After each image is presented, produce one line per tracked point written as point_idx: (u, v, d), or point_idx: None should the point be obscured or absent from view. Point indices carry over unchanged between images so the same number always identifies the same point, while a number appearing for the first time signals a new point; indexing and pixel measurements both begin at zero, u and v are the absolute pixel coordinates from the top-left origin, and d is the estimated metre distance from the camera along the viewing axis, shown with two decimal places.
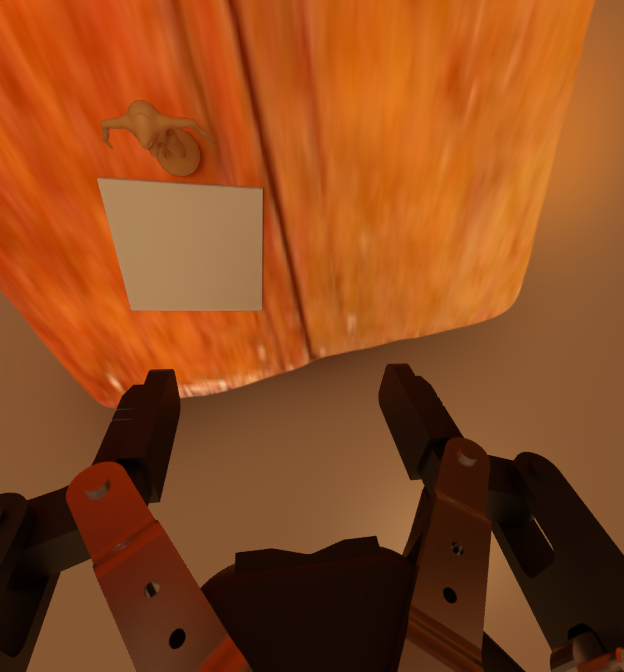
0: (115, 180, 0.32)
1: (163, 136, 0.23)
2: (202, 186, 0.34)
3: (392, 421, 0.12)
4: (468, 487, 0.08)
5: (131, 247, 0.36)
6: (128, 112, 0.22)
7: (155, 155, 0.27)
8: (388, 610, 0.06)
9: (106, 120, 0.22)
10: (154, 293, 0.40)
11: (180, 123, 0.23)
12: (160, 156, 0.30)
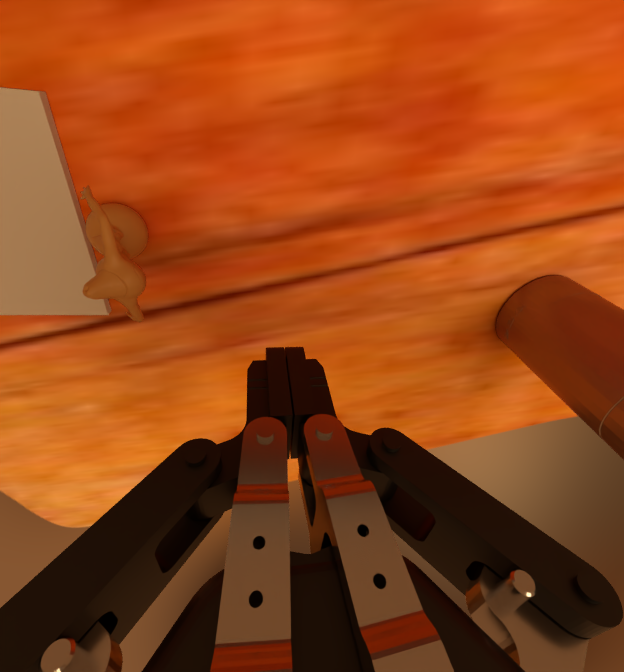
0: (47, 123, 0.21)
1: None
2: (85, 248, 0.26)
3: None
4: (340, 461, 0.09)
5: None
6: (125, 268, 0.17)
7: (93, 245, 0.20)
8: (340, 642, 0.06)
9: (108, 228, 0.17)
10: None
11: (133, 314, 0.19)
12: None
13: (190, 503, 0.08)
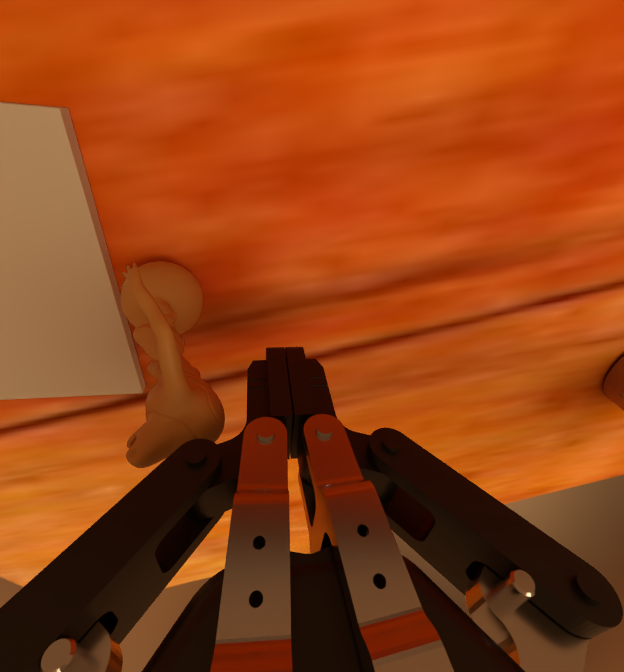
0: (71, 154, 0.14)
1: None
2: (118, 316, 0.19)
3: None
4: (340, 461, 0.09)
5: None
6: (196, 409, 0.10)
7: (136, 341, 0.13)
8: (340, 642, 0.06)
9: (171, 347, 0.10)
10: None
11: None
12: None
13: (190, 503, 0.08)
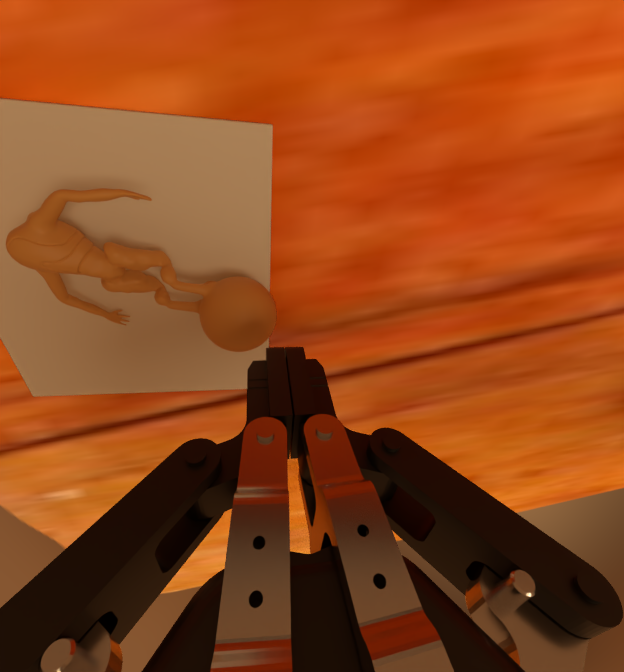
0: (270, 166, 0.15)
1: None
2: None
3: None
4: (340, 461, 0.09)
5: (111, 156, 0.14)
6: (19, 228, 0.13)
7: None
8: (340, 642, 0.06)
9: (47, 199, 0.13)
10: None
11: None
12: (222, 280, 0.17)
13: (190, 503, 0.08)
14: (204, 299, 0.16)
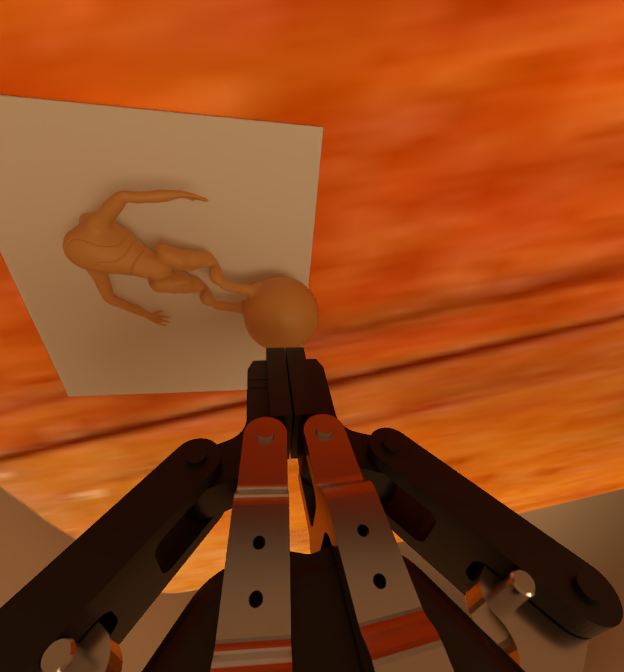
0: (317, 167, 0.16)
1: None
2: None
3: None
4: (340, 461, 0.09)
5: (163, 158, 0.14)
6: (77, 229, 0.13)
7: None
8: (340, 642, 0.06)
9: (108, 200, 0.13)
10: (30, 183, 0.14)
11: None
12: (267, 280, 0.17)
13: (190, 503, 0.08)
14: (250, 299, 0.16)
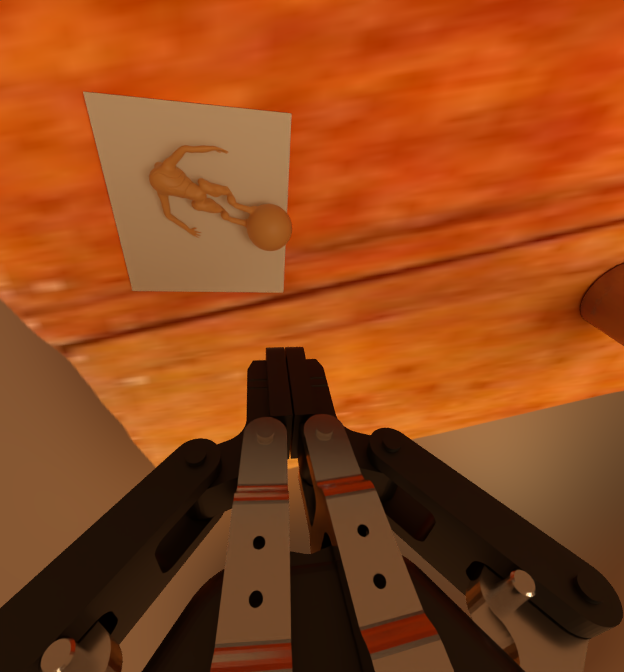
0: (289, 137, 0.27)
1: None
2: None
3: None
4: (340, 461, 0.09)
5: (202, 130, 0.26)
6: (157, 167, 0.25)
7: None
8: (340, 642, 0.06)
9: (176, 150, 0.24)
10: (128, 144, 0.26)
11: None
12: (260, 205, 0.28)
13: (190, 503, 0.08)
14: (250, 215, 0.28)
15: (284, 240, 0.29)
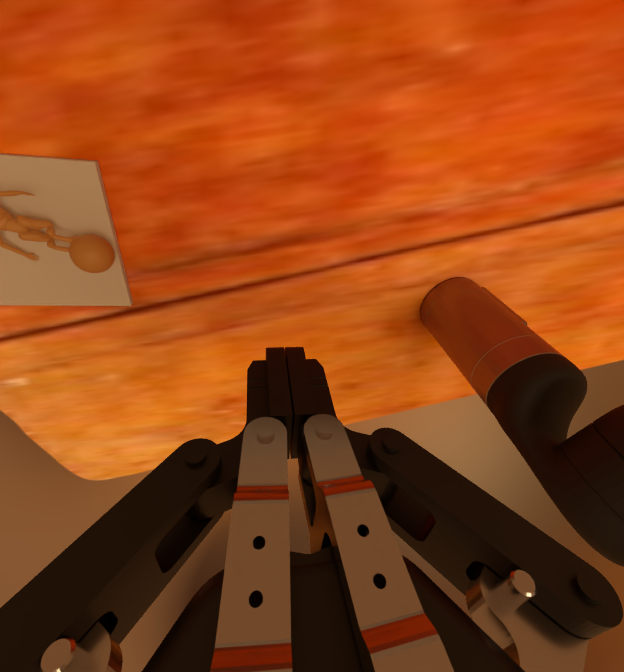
0: (98, 180, 0.33)
1: None
2: (118, 259, 0.37)
3: None
4: (340, 461, 0.09)
5: (19, 176, 0.31)
6: None
7: None
8: (340, 642, 0.06)
9: None
10: None
11: None
12: None
13: (190, 503, 0.08)
14: (70, 244, 0.33)
15: (102, 265, 0.34)
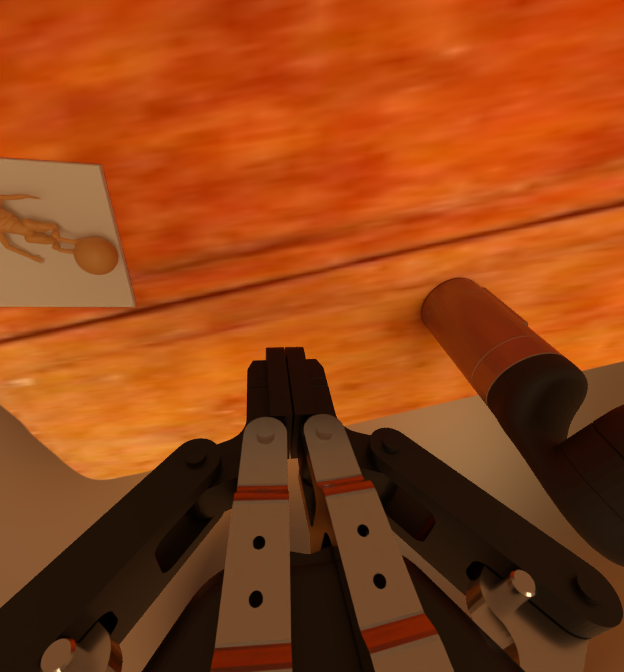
0: (102, 183, 0.33)
1: None
2: (121, 261, 0.38)
3: None
4: (340, 461, 0.09)
5: (25, 179, 0.32)
6: None
7: None
8: (340, 642, 0.06)
9: None
10: None
11: None
12: (84, 238, 0.34)
13: (190, 503, 0.08)
14: (75, 246, 0.34)
15: (106, 266, 0.35)
